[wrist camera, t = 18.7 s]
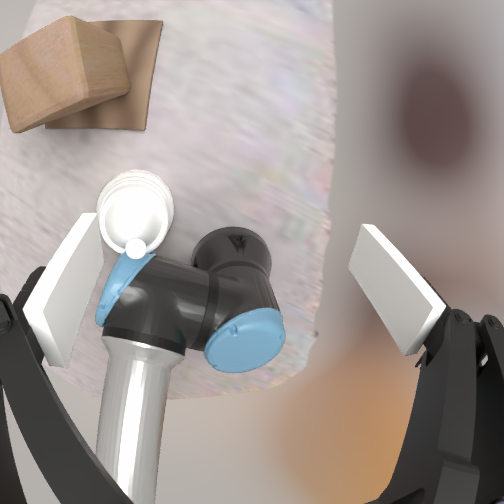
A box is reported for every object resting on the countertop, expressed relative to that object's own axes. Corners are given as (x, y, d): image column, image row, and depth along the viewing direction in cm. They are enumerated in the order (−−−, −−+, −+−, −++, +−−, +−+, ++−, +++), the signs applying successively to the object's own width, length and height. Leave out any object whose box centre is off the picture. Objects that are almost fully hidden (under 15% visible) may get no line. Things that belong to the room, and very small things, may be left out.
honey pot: (184, 219, 53) (199, 254, 37) (123, 253, 52) (112, 301, 36) (152, 155, 48) (150, 160, 32) (88, 192, 46) (58, 215, 30)
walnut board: (163, 22, 35) (162, 20, 33) (145, 128, 44) (144, 129, 42) (60, 26, 30) (57, 25, 29) (48, 127, 39) (45, 128, 38)
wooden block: (76, 112, 38) (9, 138, 22) (64, 58, 33) (-8, 56, 16) (132, 91, 39) (87, 100, 22) (120, 35, 33) (70, 10, 17)
